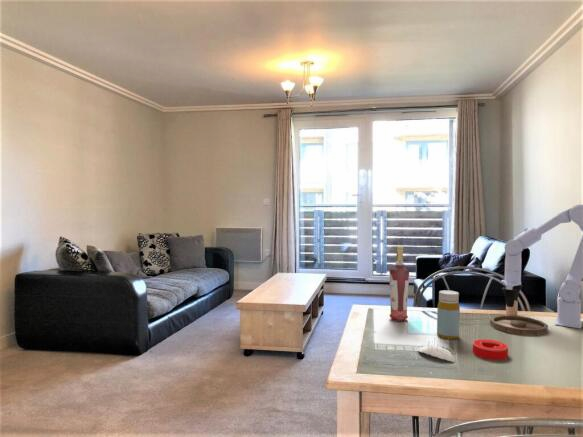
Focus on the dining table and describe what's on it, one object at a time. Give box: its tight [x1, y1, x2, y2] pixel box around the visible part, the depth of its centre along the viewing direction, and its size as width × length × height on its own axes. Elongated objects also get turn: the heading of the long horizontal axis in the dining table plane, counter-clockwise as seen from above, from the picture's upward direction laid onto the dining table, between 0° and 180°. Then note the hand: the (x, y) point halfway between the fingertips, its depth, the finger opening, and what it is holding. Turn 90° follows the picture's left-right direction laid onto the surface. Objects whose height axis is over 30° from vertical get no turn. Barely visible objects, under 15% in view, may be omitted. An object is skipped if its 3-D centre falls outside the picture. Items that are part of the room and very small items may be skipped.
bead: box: [505, 300, 519, 316], centre depth 174 cm, size 4×4×6 cm
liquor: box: [389, 245, 410, 322], centre depth 168 cm, size 7×7×28 cm
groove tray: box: [489, 314, 549, 336], centre depth 160 cm, size 18×18×2 cm
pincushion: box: [417, 337, 456, 363], centre depth 130 cm, size 12×6×6 cm, turn 40°
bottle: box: [436, 289, 461, 340], centre depth 149 cm, size 7×7×15 cm
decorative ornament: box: [472, 339, 509, 361], centre depth 133 cm, size 10×10×3 cm
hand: (511, 304), depth 174 cm, fingers open, 7 cm apart
